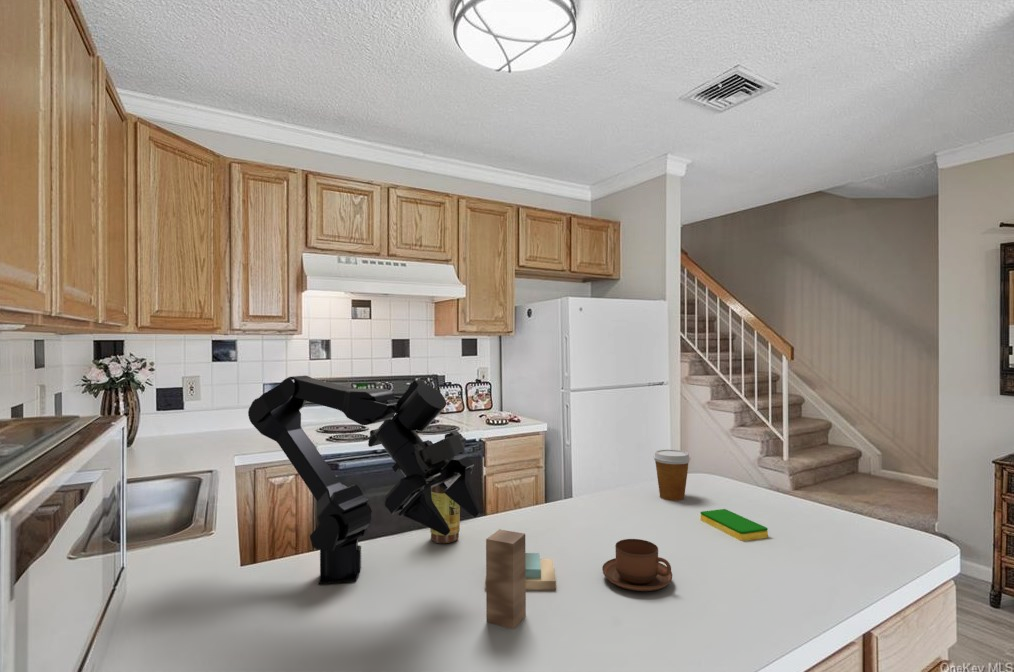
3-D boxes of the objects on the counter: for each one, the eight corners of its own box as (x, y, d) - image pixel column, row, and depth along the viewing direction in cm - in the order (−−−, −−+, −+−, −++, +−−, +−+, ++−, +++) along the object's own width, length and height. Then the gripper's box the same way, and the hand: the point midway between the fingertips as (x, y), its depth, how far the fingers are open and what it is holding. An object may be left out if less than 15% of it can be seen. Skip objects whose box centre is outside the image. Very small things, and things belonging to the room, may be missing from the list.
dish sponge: (725, 518, 126) (725, 508, 126) (768, 539, 113) (768, 527, 113) (699, 521, 124) (699, 511, 124) (741, 543, 111) (741, 531, 111)
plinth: (485, 589, 90) (485, 571, 90) (488, 566, 99) (488, 550, 99) (555, 589, 90) (555, 572, 90) (552, 567, 99) (552, 550, 99)
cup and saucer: (673, 572, 97) (673, 538, 97) (671, 603, 85) (671, 564, 85) (607, 563, 101) (607, 531, 101) (597, 591, 89) (597, 555, 89)
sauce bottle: (454, 546, 109) (454, 449, 109) (426, 543, 110) (425, 448, 110) (463, 534, 115) (463, 443, 116) (436, 532, 117) (436, 442, 117)
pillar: (486, 621, 80) (486, 538, 80) (499, 608, 84) (499, 529, 84) (513, 628, 78) (513, 543, 78) (525, 614, 82) (525, 533, 82)
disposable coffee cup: (686, 504, 135) (686, 458, 135) (649, 499, 140) (649, 454, 140) (694, 495, 144) (693, 451, 144) (658, 490, 148) (658, 447, 148)
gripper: (399, 425, 78) (464, 510, 73) (464, 410, 95) (520, 478, 90) (358, 473, 82) (418, 557, 77) (427, 450, 98) (480, 518, 93)
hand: (463, 524), depth 84 cm, fingers open, 9 cm apart
